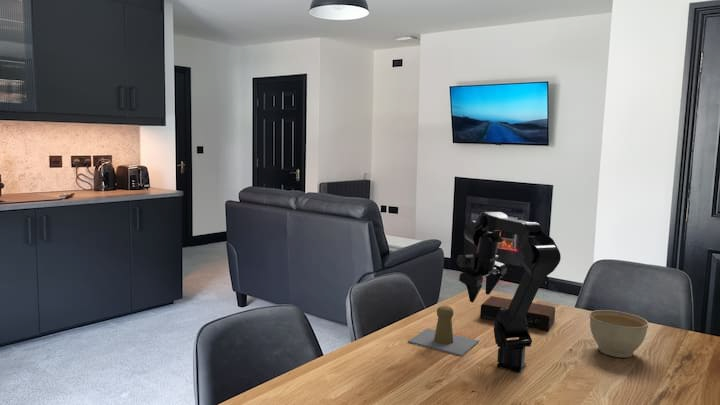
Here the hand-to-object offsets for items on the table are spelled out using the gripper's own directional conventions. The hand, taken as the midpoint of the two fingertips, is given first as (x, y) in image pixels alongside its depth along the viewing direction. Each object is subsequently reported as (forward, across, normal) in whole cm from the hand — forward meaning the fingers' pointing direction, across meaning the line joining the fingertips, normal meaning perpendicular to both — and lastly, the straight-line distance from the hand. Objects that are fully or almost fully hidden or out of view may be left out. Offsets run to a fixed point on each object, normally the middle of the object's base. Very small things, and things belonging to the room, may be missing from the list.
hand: (479, 298), depth 165 cm
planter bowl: (+11, -24, +35) cm, 44 cm away
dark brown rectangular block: (+17, -28, +1) cm, 33 cm away
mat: (+14, +9, -5) cm, 18 cm away
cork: (+14, +9, -5) cm, 18 cm away
